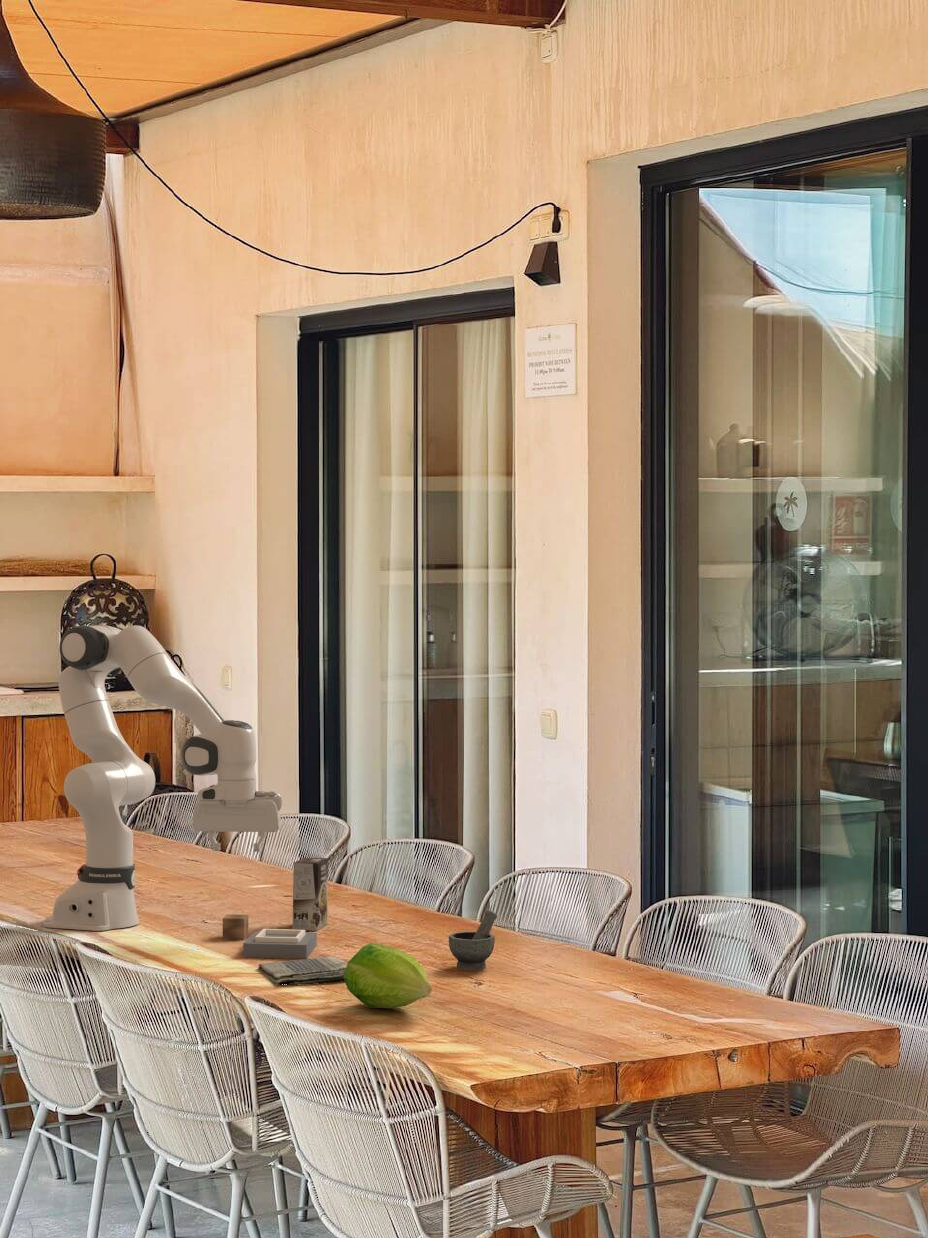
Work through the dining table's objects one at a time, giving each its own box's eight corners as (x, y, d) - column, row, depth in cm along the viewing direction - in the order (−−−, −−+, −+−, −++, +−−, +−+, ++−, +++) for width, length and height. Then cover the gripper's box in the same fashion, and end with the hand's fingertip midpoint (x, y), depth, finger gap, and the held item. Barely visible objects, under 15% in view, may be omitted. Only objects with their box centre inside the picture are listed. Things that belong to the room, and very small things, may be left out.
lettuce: (397, 1026, 335) (398, 962, 335) (331, 1006, 350) (331, 945, 350) (453, 1015, 344) (454, 952, 344) (386, 996, 359) (387, 936, 359)
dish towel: (255, 971, 383) (255, 956, 383) (336, 966, 390) (336, 951, 390) (278, 990, 366) (278, 974, 366) (362, 984, 372) (362, 968, 372)
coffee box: (317, 931, 425) (318, 863, 425) (291, 930, 426) (292, 862, 426) (328, 924, 434) (329, 857, 434) (302, 923, 435) (303, 856, 435)
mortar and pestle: (464, 974, 380) (464, 917, 380) (440, 966, 388) (440, 910, 388) (507, 968, 386) (508, 913, 386) (483, 961, 394) (484, 906, 394)
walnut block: (222, 940, 414) (222, 918, 414) (226, 935, 419) (227, 914, 419) (244, 940, 414) (244, 919, 414) (248, 936, 419) (248, 915, 419)
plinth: (243, 957, 395) (243, 938, 395) (255, 944, 409) (255, 926, 409) (306, 958, 394) (306, 940, 394) (316, 946, 408) (316, 928, 408)
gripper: (283, 790, 418) (284, 849, 418) (196, 789, 420) (197, 848, 420) (279, 793, 412) (279, 853, 412) (190, 792, 413) (190, 852, 413)
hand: (237, 851), depth 416 cm, fingers open, 8 cm apart
